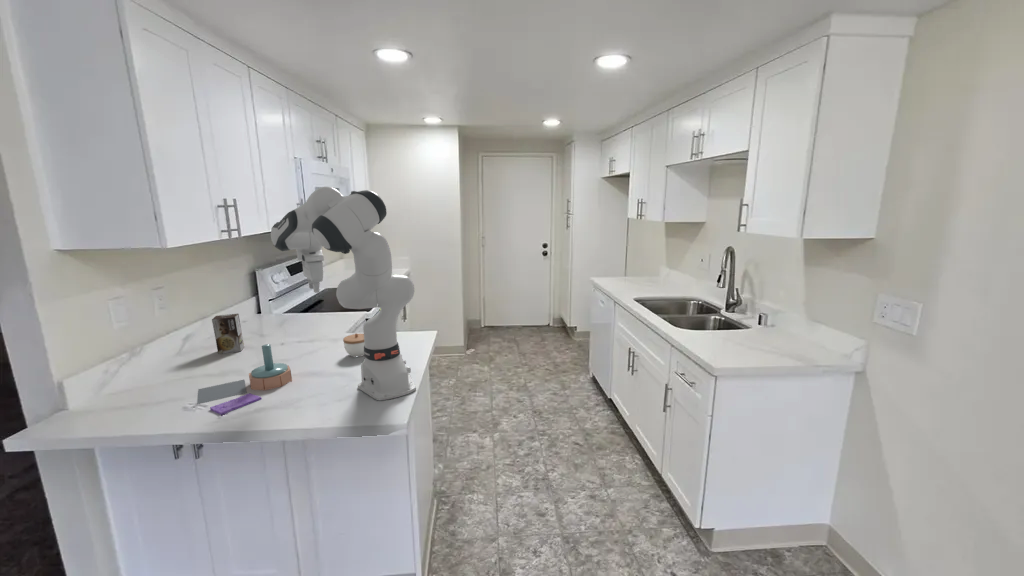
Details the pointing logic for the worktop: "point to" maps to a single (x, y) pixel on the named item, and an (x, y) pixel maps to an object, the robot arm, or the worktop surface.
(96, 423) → the worktop surface
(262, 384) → the bowl
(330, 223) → the robot arm
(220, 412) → the sponges
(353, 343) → the lidded jar
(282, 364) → the lid
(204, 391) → the mat
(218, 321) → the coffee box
